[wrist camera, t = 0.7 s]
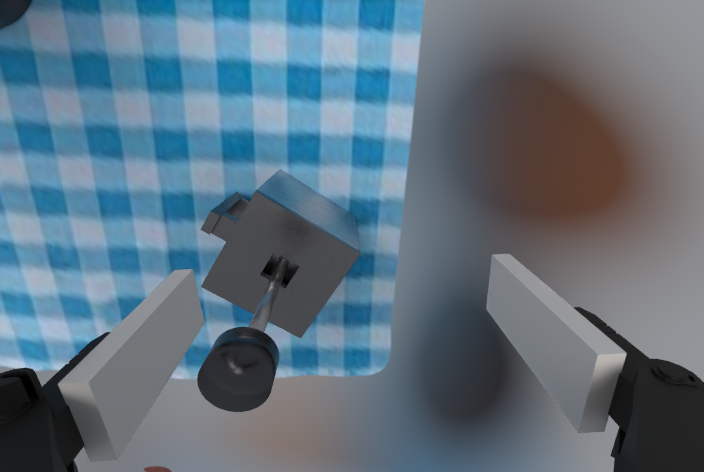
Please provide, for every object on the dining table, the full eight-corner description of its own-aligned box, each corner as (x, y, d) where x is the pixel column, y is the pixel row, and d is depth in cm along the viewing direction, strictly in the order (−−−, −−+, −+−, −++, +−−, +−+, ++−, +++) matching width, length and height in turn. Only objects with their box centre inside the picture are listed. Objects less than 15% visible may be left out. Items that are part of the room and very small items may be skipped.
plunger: (337, 246, 39) (333, 364, 20) (299, 303, 41) (264, 455, 23) (269, 205, 37) (199, 296, 19) (233, 267, 39) (138, 401, 21)
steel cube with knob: (355, 216, 48) (360, 254, 35) (311, 281, 51) (300, 338, 38) (259, 156, 45) (226, 174, 32) (219, 229, 48) (173, 272, 35)
